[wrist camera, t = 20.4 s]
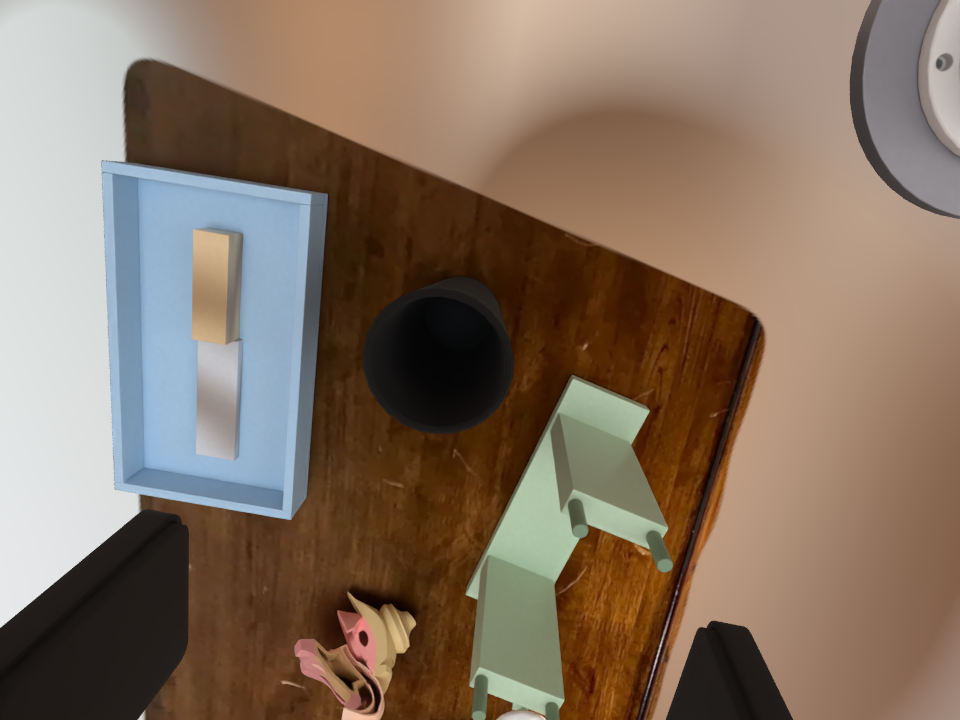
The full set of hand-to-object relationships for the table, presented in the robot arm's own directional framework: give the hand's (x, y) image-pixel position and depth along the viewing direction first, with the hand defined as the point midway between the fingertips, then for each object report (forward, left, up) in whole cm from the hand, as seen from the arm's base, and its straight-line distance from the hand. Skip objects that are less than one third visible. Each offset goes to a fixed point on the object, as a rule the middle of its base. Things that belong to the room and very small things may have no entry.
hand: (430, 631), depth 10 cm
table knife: (+11, -17, -30) cm, 36 cm away
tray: (+10, -17, -31) cm, 37 cm away
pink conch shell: (+30, +1, -31) cm, 43 cm away
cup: (+2, -2, -31) cm, 31 cm away
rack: (+12, +10, -31) cm, 35 cm away
